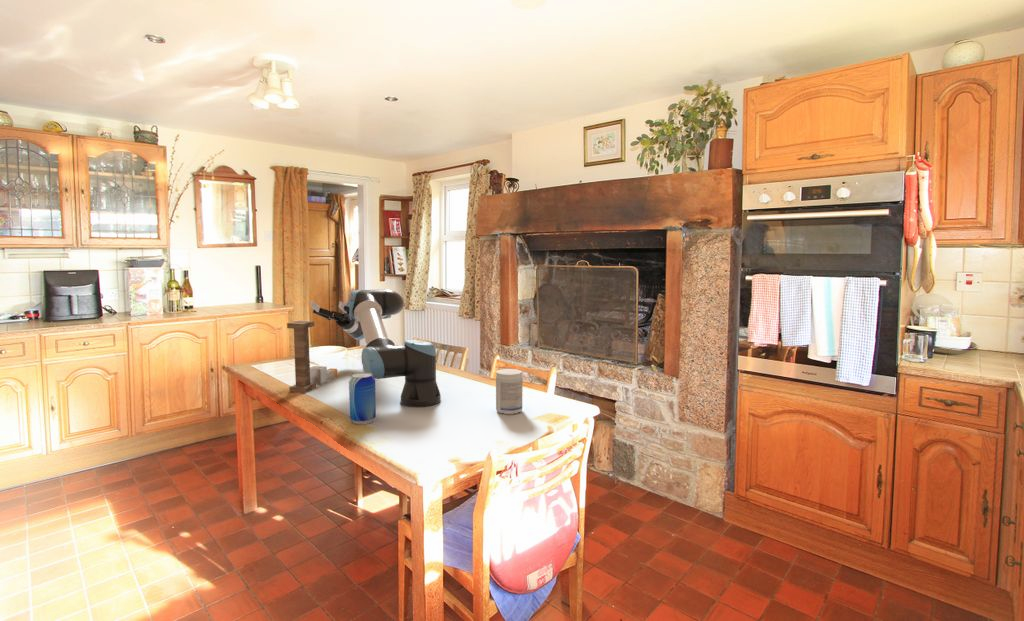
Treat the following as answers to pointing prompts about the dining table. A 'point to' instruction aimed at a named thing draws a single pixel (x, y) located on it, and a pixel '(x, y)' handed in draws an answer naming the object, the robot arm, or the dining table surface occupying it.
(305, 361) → the walnut stand
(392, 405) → the dining table surface
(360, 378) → the beer can
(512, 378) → the supplement tub
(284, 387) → the dining table surface
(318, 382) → the grey block
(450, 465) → the dining table surface
